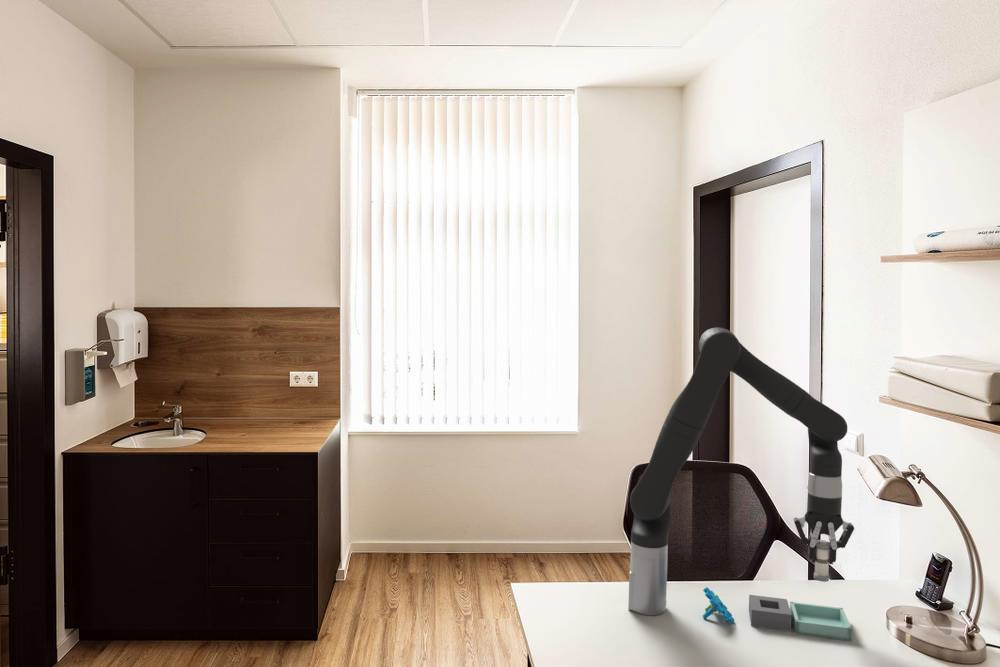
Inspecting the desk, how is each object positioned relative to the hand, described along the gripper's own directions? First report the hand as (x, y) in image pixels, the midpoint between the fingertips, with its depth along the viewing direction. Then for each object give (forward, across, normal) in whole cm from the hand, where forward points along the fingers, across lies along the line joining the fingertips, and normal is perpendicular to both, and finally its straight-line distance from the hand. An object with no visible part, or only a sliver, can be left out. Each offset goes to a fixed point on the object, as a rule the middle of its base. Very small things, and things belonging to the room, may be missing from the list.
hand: (821, 561), depth 173 cm
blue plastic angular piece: (+16, -24, -3) cm, 29 cm away
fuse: (+4, 0, 0) cm, 4 cm away
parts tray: (+16, 0, 0) cm, 16 cm away
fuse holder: (+16, -12, 0) cm, 20 cm away
